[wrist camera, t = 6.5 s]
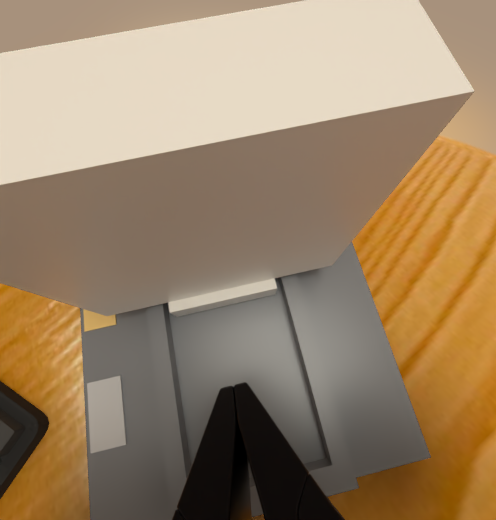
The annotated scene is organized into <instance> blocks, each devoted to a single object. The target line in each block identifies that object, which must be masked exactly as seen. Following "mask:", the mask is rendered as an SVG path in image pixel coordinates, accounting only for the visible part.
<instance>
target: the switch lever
mask: <svg viewBox="0 0 496 520" xmlns="http://www.w3.org/2000/svg"><path fill="white" fill-rule="evenodd" d="M472 93H474V90H473V88H472V86H471V85H470V83H469V81H468V80H467V78H466V77H465V75H464V73H463V72H462V70H461V69H460V67H459V65H458V64H457V62H456V60H455V59H454V57H453V56H452V54H451V52H450V51H449V49H448V48H447V46H446V44H445V43H444V41H443V39H442V38H441V36H440V35H439V33H438V32H437V30H436V28H435V27H434V25H433V23H432V22H431V20H430V19H429V17H428V15H427V14H426V12H425V10H424V9H423V7H422V6H421V4H420V2H419V1H418V0H305V1H300V2H294V3H288V4H282V5H277V6H271V7H265V8H260V9H253V10H248V11H242V12H237V13H230V14H225V15H219V16H213V17H207V18H202V19H196V20H190V21H184V22H179V23H173V24H167V25H161V26H155V27H150V28H144V29H138V30H133V31H126V32H121V33H115V34H109V35H103V36H98V37H92V38H87V39H81V40H74V41H69V42H63V43H57V44H51V45H46V46H40V47H34V48H28V49H22V50H17V51H11V52H5V53H0V283H2V284H5V285H8V286H11V287H15V288H18V289H21V290H24V291H28V292H31V293H34V294H37V295H40V296H44V297H47V298H50V299H53V300H56V301H60V302H63V303H66V304H69V305H72V306H76V307H79V308H82V309H85V310H88V311H92V312H95V313H98V314H101V315H104V316H110V315H115V314H119V313H124V312H128V311H133V310H137V309H141V308H146V307H150V306H155V305H159V304H164V303H168V304H169V311H170V313H171V314H173V315H174V316H176V317H179V316H183V315H188V314H192V313H196V312H201V311H205V310H209V309H214V308H218V307H223V306H227V305H231V304H236V303H240V302H244V301H249V300H253V299H257V298H262V297H266V296H270V295H275V293H276V290H277V286H276V282H275V278H278V277H283V276H287V275H292V274H296V273H301V272H305V271H309V270H314V269H318V268H323V267H327V266H332V265H333V264H334V262H335V261H336V260H337V259H338V257H339V256H340V255H341V254H342V253H343V251H344V250H345V249H346V248H347V246H348V245H349V244H350V243H351V242H352V240H353V239H354V238H355V237H356V235H357V234H358V233H359V232H360V231H361V229H362V228H363V227H364V226H365V224H366V223H367V222H368V221H369V220H370V218H371V217H372V216H373V215H374V213H375V212H376V211H377V210H378V209H379V207H380V206H381V205H382V204H383V203H384V201H385V200H386V199H387V198H388V196H389V195H390V194H391V193H392V192H393V190H394V189H395V188H396V187H397V185H398V184H399V183H400V182H401V181H402V179H403V178H404V177H405V176H406V174H407V173H408V172H409V171H410V170H411V168H412V167H413V166H414V165H415V163H416V162H417V161H418V160H419V159H420V157H421V156H422V155H423V154H424V152H425V151H426V150H427V149H428V148H429V146H430V145H431V144H432V143H433V141H434V140H435V139H436V138H437V137H438V135H439V134H440V133H441V132H442V130H443V129H444V128H445V127H446V125H447V124H448V123H449V122H450V121H451V119H452V118H453V117H454V116H455V114H456V113H457V112H458V111H459V110H460V108H461V107H462V106H463V105H464V104H465V102H466V101H467V100H468V99H469V97H470V96H471V95H472Z"/></svg>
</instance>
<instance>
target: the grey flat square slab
mask: <svg viewBox="0 0 496 520" xmlns="http://www.w3.org/2000/svg"><path fill="white" fill-rule="evenodd" d="M275 282H276V286H277V290H276V293H275V295H270V296H266V297H262V298H257V299H253V300H249V301H244V302H240V303H236V304H231V305H227V306H223V307H218V308H214V309H209V310H205V311H201V312H196V313H192V314H188V315H183V316H179V317H176V316H174V315H173V314H171V313H170V311H169V304H168V303H164V304H159V305H155V306H150V307H146V308H141V309H137V310H133V311H128V312H124V313H119V314H115V315H110V316H104V315H101V314H98V313H95V312H92V311H88V310H85V309H82V308H80V311H81V332H82V353H83V374H84V395H85V416H86V437H87V458H88V479H89V500H90V520H172V518H173V515H174V512H175V510H178V509H177V504H178V502H179V499H180V496H181V493H182V491H183V488H184V485H185V483H186V480H187V477H188V474H189V472H190V469H191V466H192V463H193V461H194V458H195V455H196V453H197V450H198V447H199V444H200V442H201V439H202V436H203V433H204V431H205V428H206V425H207V423H208V420H209V417H210V414H211V412H212V409H213V406H214V403H215V401H216V398H217V395H218V393H219V390H220V389H221V388H223V387H227V386H231V385H232V386H233V387H234V385H235V384H239V383H243V382H246V383H248V385H249V386H250V387H251V389H252V390H253V392H254V393H255V395H256V396H257V398H258V399H259V400H260V402H261V403H262V405H263V406H264V408H265V409H266V411H267V412H268V413H269V415H270V416H271V418H272V419H273V421H274V422H275V424H276V425H277V426H278V428H279V429H280V431H281V432H282V434H283V435H284V437H285V438H286V439H287V441H288V442H289V444H290V445H291V447H292V448H293V450H294V451H295V452H296V454H297V455H298V457H299V458H300V460H301V461H302V462H303V464H304V465H305V467H306V468H307V470H308V471H309V474H311V475H312V477H313V478H314V480H315V481H316V482H317V484H318V485H319V487H320V488H321V489H322V491H323V492H324V493H325V495H326V496H327V497H328V496H332V495H335V494H339V493H343V492H346V491H350V490H354V489H358V488H359V486H358V483H357V479H356V478H357V477H361V476H364V475H368V474H372V473H376V472H379V471H383V470H387V469H390V468H394V467H398V466H402V465H405V464H409V463H413V462H416V461H420V460H424V459H428V458H431V456H430V453H429V451H428V448H427V445H426V442H425V440H424V437H423V434H422V432H421V429H420V426H419V423H418V421H417V418H416V415H415V412H414V410H413V407H412V404H411V402H410V399H409V396H408V393H407V391H406V388H405V385H404V383H403V380H402V377H401V374H400V372H399V369H398V366H397V363H396V361H395V358H394V355H393V353H392V350H391V347H390V344H389V342H388V339H387V336H386V334H385V331H384V328H383V325H382V323H381V320H380V317H379V314H378V312H377V309H376V306H375V304H374V301H373V298H372V295H371V293H370V290H369V287H368V285H367V282H366V279H365V276H364V274H363V271H362V268H361V265H360V263H359V260H358V257H357V255H356V252H355V249H354V246H353V244H352V242H351V243H350V244H349V245H348V246H347V248H346V249H345V250H344V251H343V253H342V254H341V255H340V256H339V257H338V259H337V260H336V261H335V262H334V264H333V265H332V266H327V267H323V268H318V269H314V270H309V271H305V272H301V273H296V274H292V275H287V276H283V277H278V278H275ZM248 464H249V461H248ZM249 478H250V495H251V512H252V517H254V516H258V515H262V514H263V511H262V507H261V504H260V500H259V497H258V493H257V490H256V486H255V483H254V479H253V476H252V472H251V469H250V465H249Z"/></svg>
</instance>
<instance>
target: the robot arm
mask: <svg viewBox="0 0 496 520" xmlns="http://www.w3.org/2000/svg"><path fill="white" fill-rule="evenodd" d="M248 461H249V464H248ZM249 465H250V469H251V472H252V476H253V479H254V483H255V486H256V490H257V493H258V497H259V500H260V504H261V507H262V511H263V514H264V518H265V520H345V519H344V518H343V517H342V515H341V514H340V513H339V512H338V511H337V509H336V508H335V507H334V506H333V504H332V503H331V502H330V500H329V499H328V498H327V496H326V495H325V493H324V492H323V491H322V489H321V488H320V487H319V485H318V484H317V482H316V481H315V480H314V478H313V477H312V475H311V474H309V471H308V470H307V468H306V467H305V465H304V464H303V462H302V461H301V460H300V458H299V457H298V455H297V454H296V452H295V451H294V450H293V448H292V447H291V445H290V444H289V442H288V441H287V439H286V438H285V437H284V435H283V434H282V432H281V431H280V429H279V428H278V426H277V425H276V424H275V422H274V421H273V419H272V418H271V416H270V415H269V413H268V412H267V411H266V409H265V408H264V406H263V405H262V403H261V402H260V400H259V399H258V398H257V396H256V395H255V393H254V392H253V390H252V389H251V387H250V386H249V385H248V383H246V382H243V383H239V384H235V385H234V387H233V386H232V385H231V386H227V387H223V388H221V389H220V390H219V393H218V395H217V398H216V401H215V403H214V406H213V409H212V412H211V414H210V417H209V420H208V423H207V425H206V428H205V431H204V433H203V436H202V439H201V442H200V444H199V447H198V450H197V453H196V455H195V458H194V461H193V463H192V466H191V469H190V472H189V474H188V477H187V480H186V483H185V485H184V488H183V491H182V493H181V496H180V499H179V502H178V504H177V509H178V510H175V512H174V515H173V518H172V520H252V512H251V495H250V478H249Z"/></svg>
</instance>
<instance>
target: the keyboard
mask: <svg viewBox="0 0 496 520" xmlns="http://www.w3.org/2000/svg"><path fill="white" fill-rule="evenodd" d="M48 425H49V421H48V417H47V416H46V415H45V414H44V413H43V412H42V411H40V410H39V409H38V408H36V407H35V406H33V405H32V404H31V403H29V402H28V401H27V400H25V399H24V398H23V397H21V396H20V395H19V394H17V393H16V392H14V391H13V390H12V389H10V388H9V387H8V386H6V385H5V384H4V383H2V382H1V381H0V499H1V497H2V496H3V494H4V493H5V491H6V490H7V488H8V487H9V486H10V484H11V483H12V481H13V480H14V478H15V477H16V475H17V474H18V473H19V471H20V470H21V468H22V467H23V465H24V464H25V462H26V461H27V460H28V458H29V457H30V455H31V454H32V452H33V451H34V449H35V448H36V447H37V445H38V444H39V442H40V441H41V439H42V438H43V436H44V435H45V433H46V431H47V429H48Z"/></svg>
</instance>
